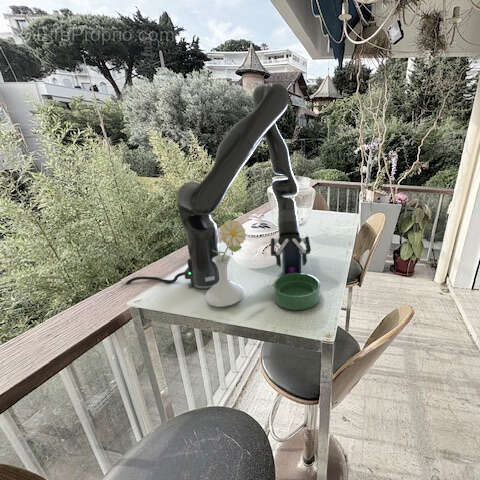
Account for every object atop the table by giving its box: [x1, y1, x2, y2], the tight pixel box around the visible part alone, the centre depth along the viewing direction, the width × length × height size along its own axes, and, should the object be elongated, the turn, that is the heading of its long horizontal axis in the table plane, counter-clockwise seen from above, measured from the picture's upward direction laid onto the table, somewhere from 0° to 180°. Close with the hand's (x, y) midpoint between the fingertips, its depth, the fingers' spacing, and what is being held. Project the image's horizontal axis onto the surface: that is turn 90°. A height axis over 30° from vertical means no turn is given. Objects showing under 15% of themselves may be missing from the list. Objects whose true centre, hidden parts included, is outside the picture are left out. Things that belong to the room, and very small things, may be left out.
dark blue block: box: [281, 247, 302, 276], centre depth 94 cm, size 6×6×10 cm
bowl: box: [273, 272, 321, 311], centre depth 82 cm, size 14×14×5 cm
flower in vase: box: [204, 219, 247, 308], centre depth 77 cm, size 13×11×25 cm
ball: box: [287, 267, 296, 274], centre depth 95 cm, size 3×3×3 cm
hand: (292, 265), depth 93 cm, fingers open, 8 cm apart
